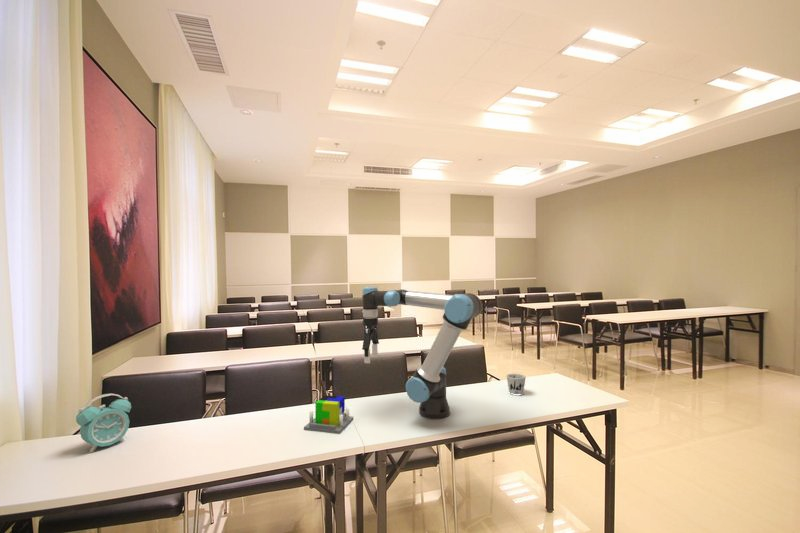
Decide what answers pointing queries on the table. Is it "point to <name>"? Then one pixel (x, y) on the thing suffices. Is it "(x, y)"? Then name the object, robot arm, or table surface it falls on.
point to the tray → (329, 428)
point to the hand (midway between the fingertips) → (371, 359)
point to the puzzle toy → (329, 410)
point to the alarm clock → (104, 422)
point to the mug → (516, 383)
